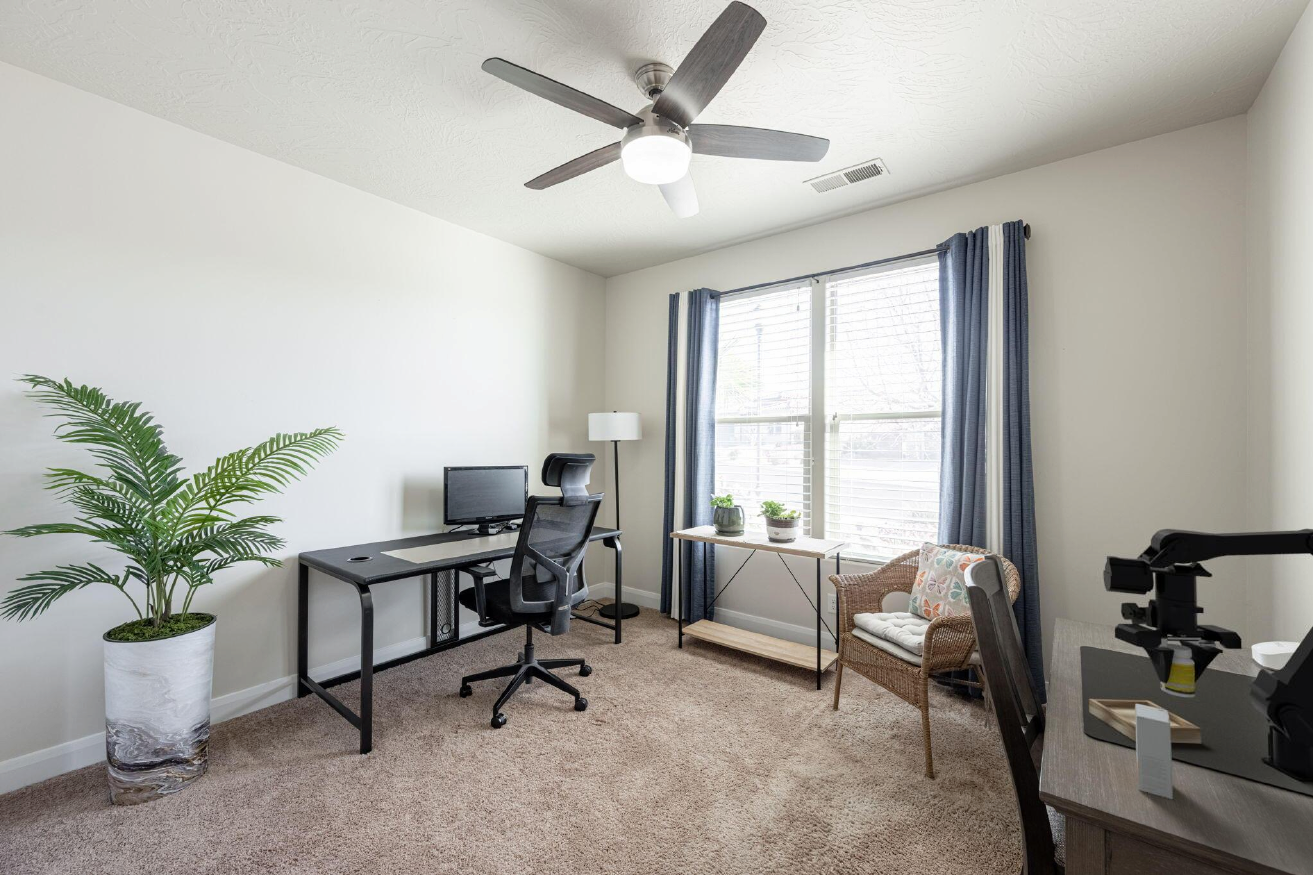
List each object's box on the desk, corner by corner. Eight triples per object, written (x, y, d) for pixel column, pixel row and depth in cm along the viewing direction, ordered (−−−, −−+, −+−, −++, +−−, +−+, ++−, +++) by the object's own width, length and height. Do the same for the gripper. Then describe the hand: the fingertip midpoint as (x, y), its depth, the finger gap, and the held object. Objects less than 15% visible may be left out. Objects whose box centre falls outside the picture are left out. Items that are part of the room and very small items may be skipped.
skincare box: (1136, 773, 95) (1134, 702, 95) (1170, 783, 92) (1168, 709, 92) (1137, 790, 90) (1135, 715, 90) (1173, 800, 87) (1171, 723, 88)
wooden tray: (1201, 745, 105) (1201, 728, 105) (1135, 743, 106) (1134, 726, 106) (1148, 715, 117) (1148, 700, 117) (1089, 714, 118) (1089, 698, 118)
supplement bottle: (1202, 699, 101) (1201, 652, 101) (1172, 697, 102) (1171, 650, 102) (1182, 688, 105) (1181, 643, 106) (1154, 686, 106) (1153, 641, 107)
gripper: (1186, 588, 112) (1187, 666, 112) (1092, 587, 112) (1093, 665, 112) (1243, 602, 101) (1245, 690, 100) (1139, 601, 101) (1140, 688, 101)
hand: (1177, 682), depth 104 cm, fingers closed on supplement bottle, 5 cm apart
